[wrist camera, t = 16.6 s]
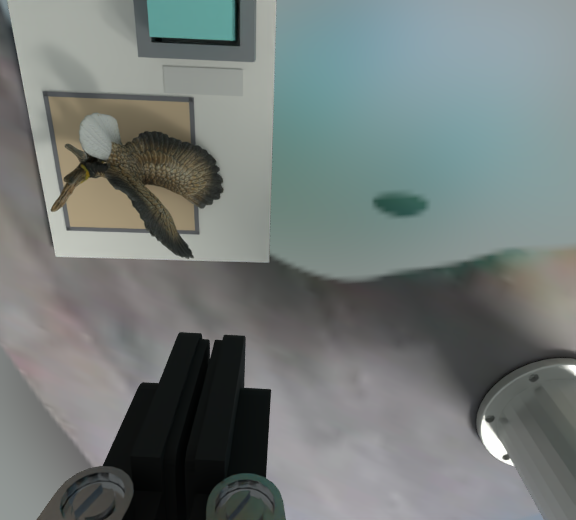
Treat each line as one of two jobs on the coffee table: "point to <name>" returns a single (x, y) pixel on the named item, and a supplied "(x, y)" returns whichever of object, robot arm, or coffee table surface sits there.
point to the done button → (193, 19)
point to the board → (150, 121)
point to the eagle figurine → (144, 173)
